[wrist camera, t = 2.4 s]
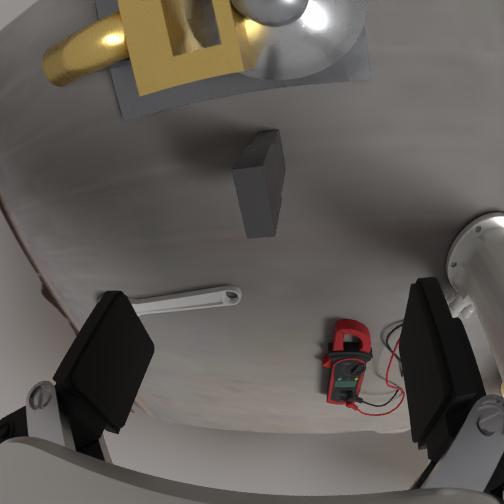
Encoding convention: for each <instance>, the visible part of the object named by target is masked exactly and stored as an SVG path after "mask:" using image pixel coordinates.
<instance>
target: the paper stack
mask: <svg viewBox="0 0 504 504" xmlns="http://www.w3.org/2000/svg"><path fill="white" fill-rule="evenodd" d="M501 394H502V396H503V397H504V383H503V382H502V384H501Z"/></svg>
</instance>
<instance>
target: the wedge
mask: <svg viewBox="0 0 504 504" xmlns="http://www.w3.org/2000/svg"><path fill="white" fill-rule="evenodd" d="M232 173H233V177H234V182H235V186H236V191H237V195H238V200H239V204H240V209H241V213H242V218H243V222H244V226H245V231H246V235H247V238H260V237H274V236H275V234H276V229H277V223H278V217H279V212H280V206H281V200H282V198H281V193H282V187H283V182H284V176H285V164H284V158H283V152H282V145H281V139H280V133H279V130H271V131H263V132H258V134H257V136H256V137H255V139H254V141H253V142H252V144H248V145H247V146H246V148H245V149H244V151H243V153H242V154H241V156H240V157H239V159H238V161H237V162H236V164H235V166H234V167H233V169H232Z"/></svg>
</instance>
